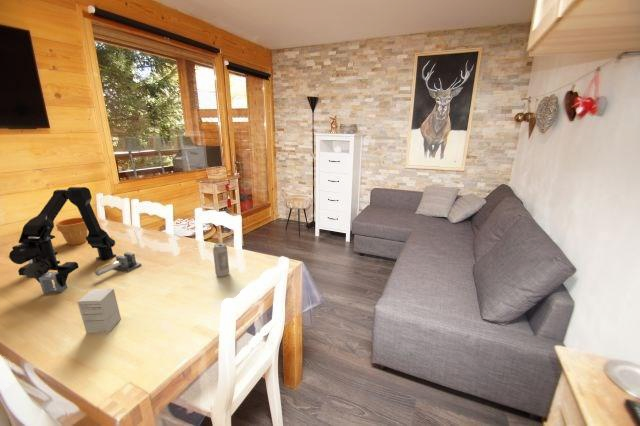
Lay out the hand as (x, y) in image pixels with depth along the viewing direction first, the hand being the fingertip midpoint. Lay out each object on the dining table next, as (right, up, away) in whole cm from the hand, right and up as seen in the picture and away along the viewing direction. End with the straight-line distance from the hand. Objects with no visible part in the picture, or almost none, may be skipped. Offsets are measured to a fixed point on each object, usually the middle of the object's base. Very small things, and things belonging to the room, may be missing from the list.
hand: (54, 286), depth 118 cm
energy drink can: (+65, +2, +15) cm, 67 cm away
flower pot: (-33, +13, +49) cm, 61 cm away
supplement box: (+36, -9, -20) cm, 42 cm away
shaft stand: (+14, +3, +16) cm, 22 cm away
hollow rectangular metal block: (0, -2, +1) cm, 2 cm away
